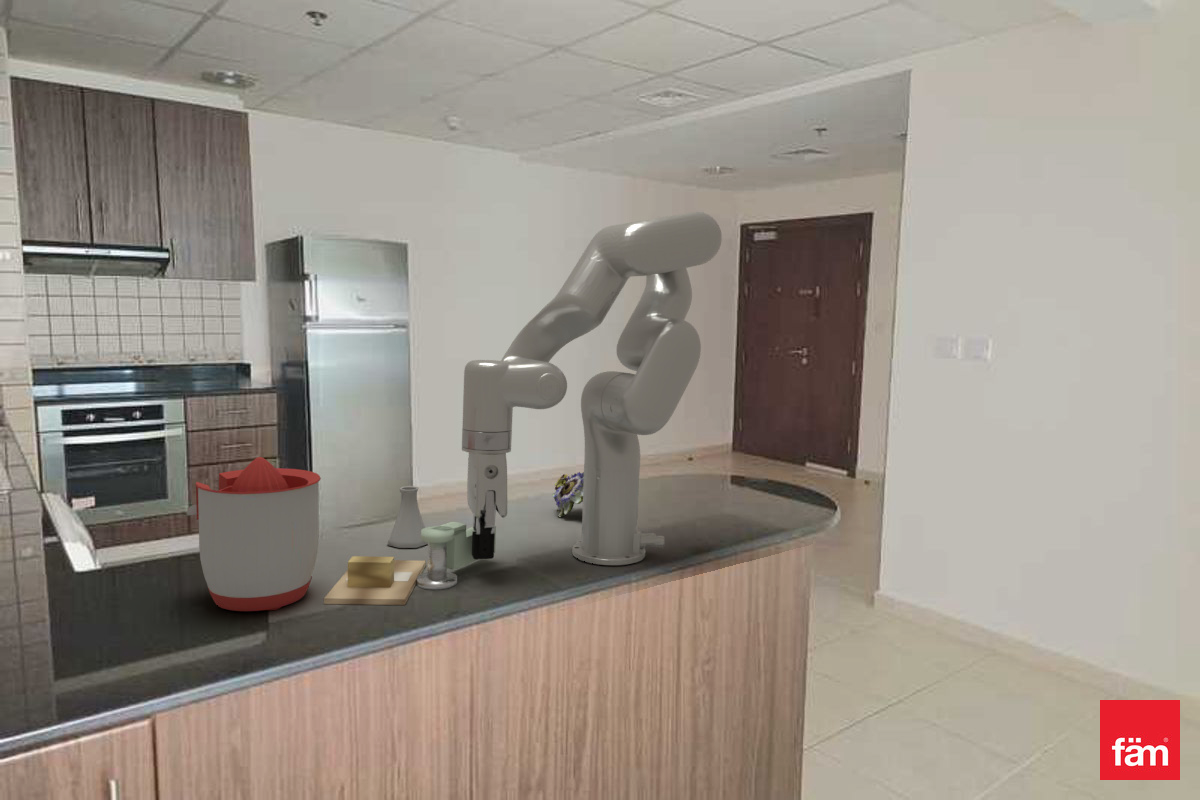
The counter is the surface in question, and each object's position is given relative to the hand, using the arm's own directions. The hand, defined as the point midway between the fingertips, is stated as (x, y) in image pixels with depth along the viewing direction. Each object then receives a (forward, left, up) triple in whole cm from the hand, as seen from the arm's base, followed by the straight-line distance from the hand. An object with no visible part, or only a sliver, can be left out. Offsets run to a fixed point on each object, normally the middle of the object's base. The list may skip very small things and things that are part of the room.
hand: (482, 557), depth 118 cm
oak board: (+15, +4, -3) cm, 16 cm away
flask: (+14, -16, -3) cm, 22 cm away
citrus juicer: (+30, +11, -3) cm, 32 cm away
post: (+6, +4, -3) cm, 8 cm away
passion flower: (-17, -37, -3) cm, 41 cm away
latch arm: (+4, -1, -1) cm, 4 cm away
